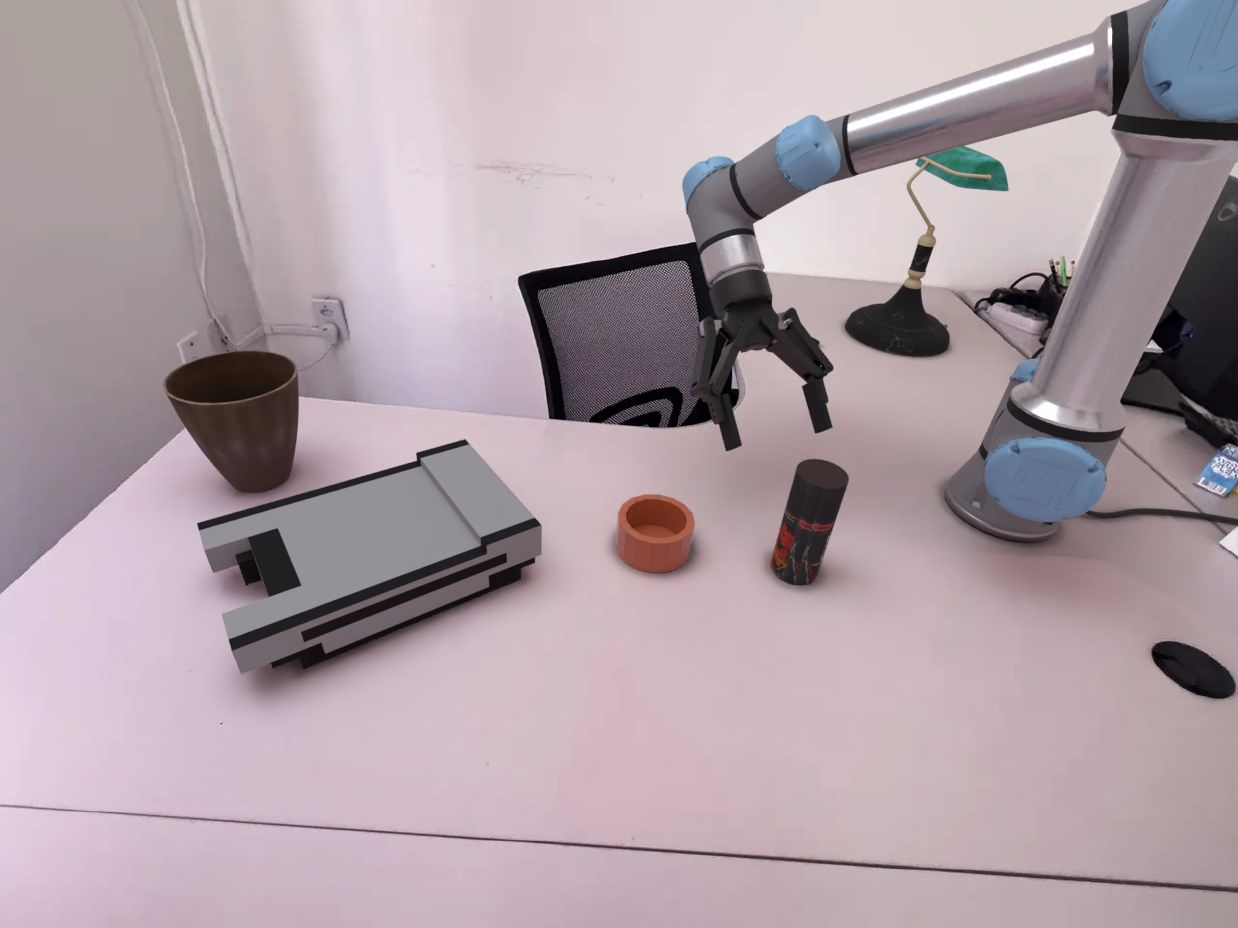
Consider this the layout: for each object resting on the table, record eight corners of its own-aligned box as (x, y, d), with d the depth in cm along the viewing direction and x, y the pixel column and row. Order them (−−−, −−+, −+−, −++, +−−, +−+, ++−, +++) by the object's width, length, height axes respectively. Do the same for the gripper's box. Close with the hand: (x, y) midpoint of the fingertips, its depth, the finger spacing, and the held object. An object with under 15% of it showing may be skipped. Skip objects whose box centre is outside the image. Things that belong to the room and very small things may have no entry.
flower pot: (249, 440, 98) (220, 342, 89) (340, 457, 96) (320, 359, 87) (174, 498, 86) (132, 392, 77) (277, 519, 84) (245, 412, 75)
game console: (214, 568, 76) (193, 514, 72) (468, 487, 93) (465, 439, 88) (250, 698, 63) (228, 641, 58) (541, 576, 79) (541, 524, 74)
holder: (696, 533, 88) (701, 504, 85) (679, 581, 80) (684, 551, 77) (628, 516, 90) (631, 487, 87) (605, 560, 82) (608, 530, 79)
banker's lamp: (968, 364, 140) (1052, 163, 117) (863, 357, 140) (926, 153, 117) (923, 317, 162) (985, 140, 139) (831, 310, 161) (879, 131, 139)
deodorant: (818, 589, 81) (851, 492, 72) (770, 580, 81) (797, 483, 73) (816, 557, 85) (846, 463, 77) (770, 549, 86) (795, 455, 78)
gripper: (798, 286, 92) (839, 430, 89) (638, 301, 82) (679, 462, 80) (832, 260, 85) (878, 416, 82) (661, 273, 75) (707, 449, 73)
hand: (780, 439), depth 81 cm, fingers open, 13 cm apart
